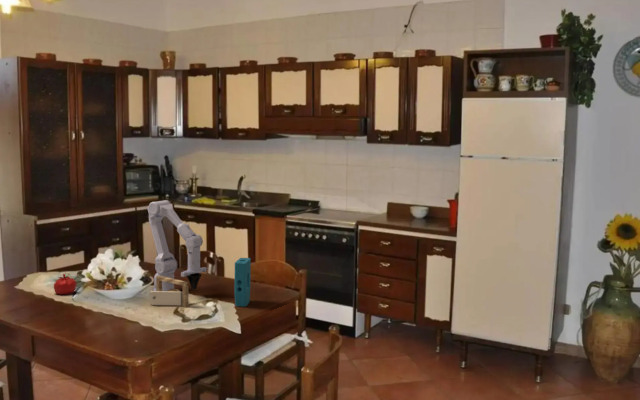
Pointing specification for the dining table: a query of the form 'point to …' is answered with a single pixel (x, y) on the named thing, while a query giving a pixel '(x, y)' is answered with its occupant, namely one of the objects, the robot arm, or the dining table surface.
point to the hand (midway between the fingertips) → (193, 289)
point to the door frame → (174, 281)
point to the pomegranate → (65, 285)
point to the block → (242, 281)
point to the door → (166, 298)
